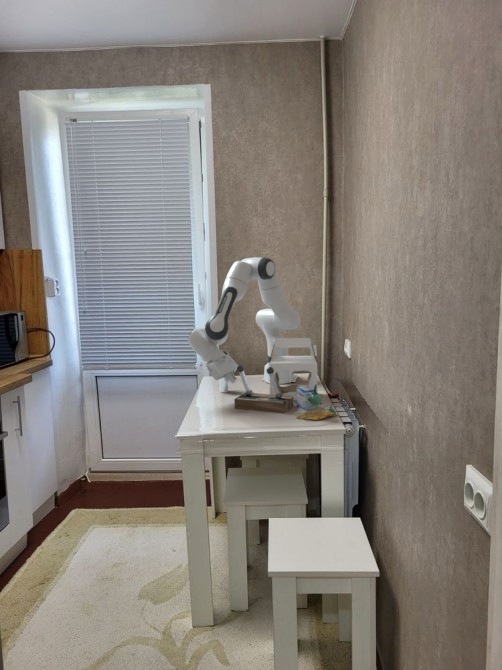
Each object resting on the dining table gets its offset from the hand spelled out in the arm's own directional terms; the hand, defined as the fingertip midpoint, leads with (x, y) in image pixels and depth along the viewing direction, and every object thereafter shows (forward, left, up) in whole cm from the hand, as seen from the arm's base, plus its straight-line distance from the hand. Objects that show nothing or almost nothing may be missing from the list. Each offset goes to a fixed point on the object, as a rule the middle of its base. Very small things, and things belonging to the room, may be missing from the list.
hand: (235, 381), depth 214 cm
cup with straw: (-20, -15, -11) cm, 27 cm away
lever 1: (0, +7, -6) cm, 10 cm away
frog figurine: (+8, +39, -11) cm, 42 cm away
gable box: (-20, +21, -11) cm, 31 cm away
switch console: (0, +14, -10) cm, 18 cm away
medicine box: (-4, +31, -11) cm, 33 cm away
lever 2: (0, +21, -6) cm, 22 cm away
